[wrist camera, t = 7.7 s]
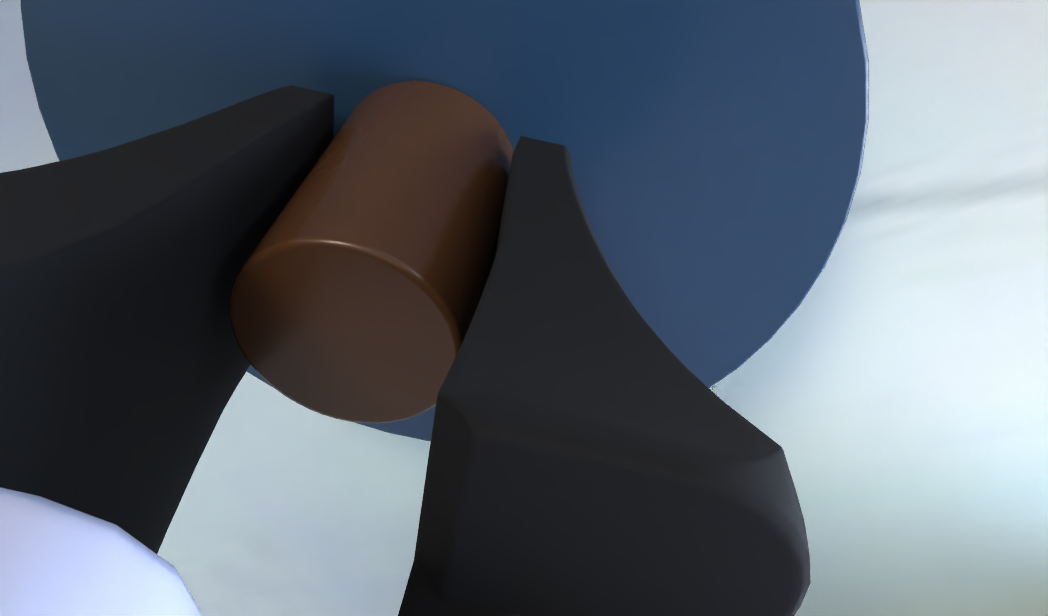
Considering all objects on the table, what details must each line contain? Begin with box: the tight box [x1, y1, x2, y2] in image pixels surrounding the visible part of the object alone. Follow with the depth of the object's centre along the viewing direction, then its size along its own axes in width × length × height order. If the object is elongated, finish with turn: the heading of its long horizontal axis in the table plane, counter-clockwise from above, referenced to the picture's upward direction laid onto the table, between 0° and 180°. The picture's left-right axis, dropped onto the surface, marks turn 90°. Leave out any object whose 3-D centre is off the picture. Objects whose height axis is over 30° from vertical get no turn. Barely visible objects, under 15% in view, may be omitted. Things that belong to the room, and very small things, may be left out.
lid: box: [21, 0, 869, 441], centre depth 11 cm, size 12×12×5 cm
